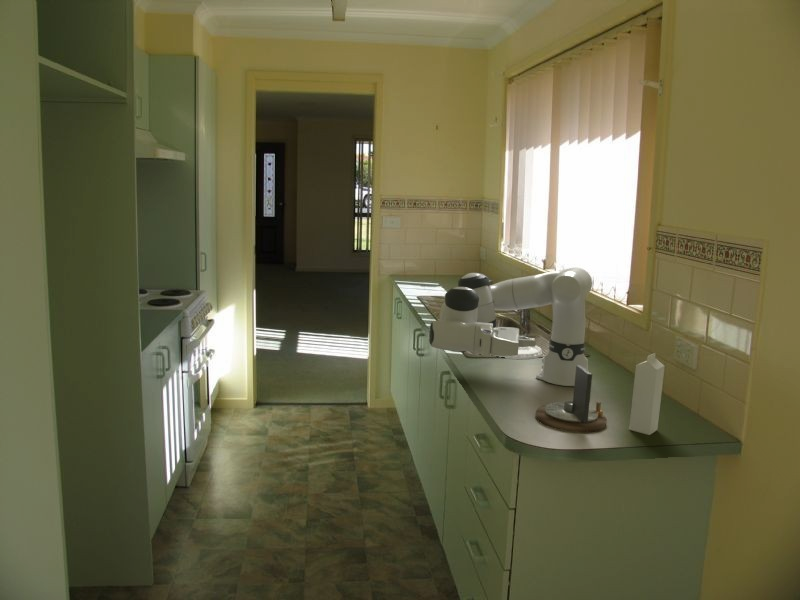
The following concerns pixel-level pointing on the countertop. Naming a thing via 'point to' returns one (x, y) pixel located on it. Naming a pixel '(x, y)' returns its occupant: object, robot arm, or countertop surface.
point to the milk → (647, 396)
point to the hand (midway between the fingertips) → (535, 342)
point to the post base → (571, 427)
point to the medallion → (526, 353)
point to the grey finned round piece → (576, 402)
